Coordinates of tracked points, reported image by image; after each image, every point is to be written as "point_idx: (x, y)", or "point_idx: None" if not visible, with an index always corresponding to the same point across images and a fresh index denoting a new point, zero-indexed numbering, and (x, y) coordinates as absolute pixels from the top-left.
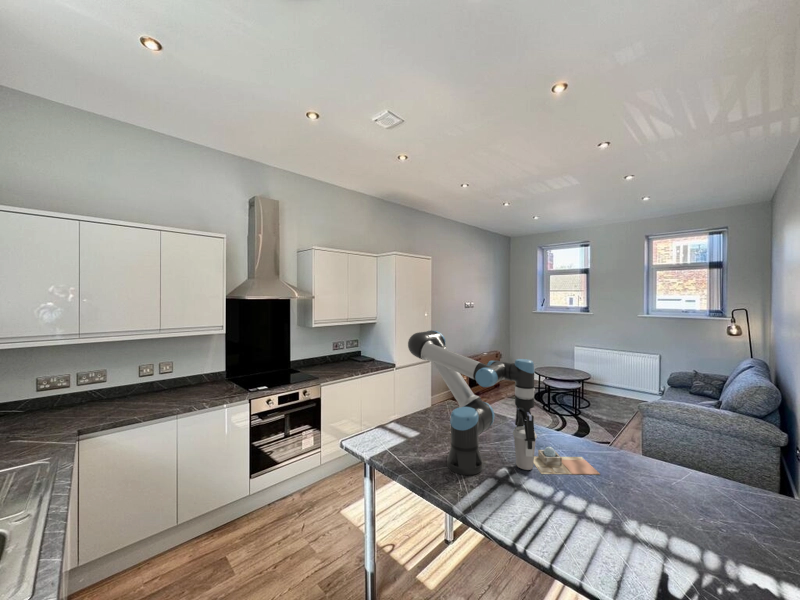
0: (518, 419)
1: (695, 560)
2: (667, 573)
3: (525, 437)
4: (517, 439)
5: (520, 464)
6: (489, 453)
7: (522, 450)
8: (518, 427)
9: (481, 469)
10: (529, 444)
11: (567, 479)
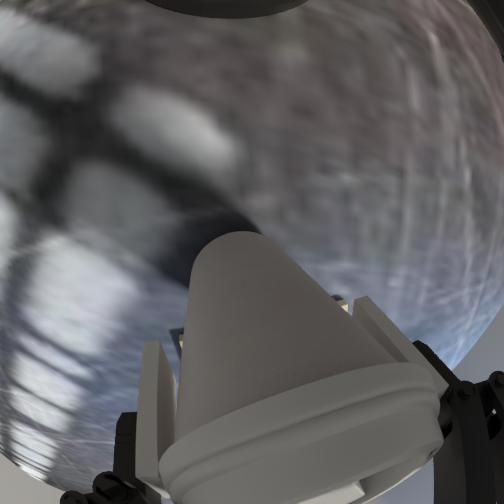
0: (487, 497)
1: (16, 450)
2: None
3: (170, 497)
4: (219, 397)
5: (200, 260)
6: (387, 99)
7: (184, 346)
8: (422, 454)
9: (165, 5)
10: (118, 459)
11: None
